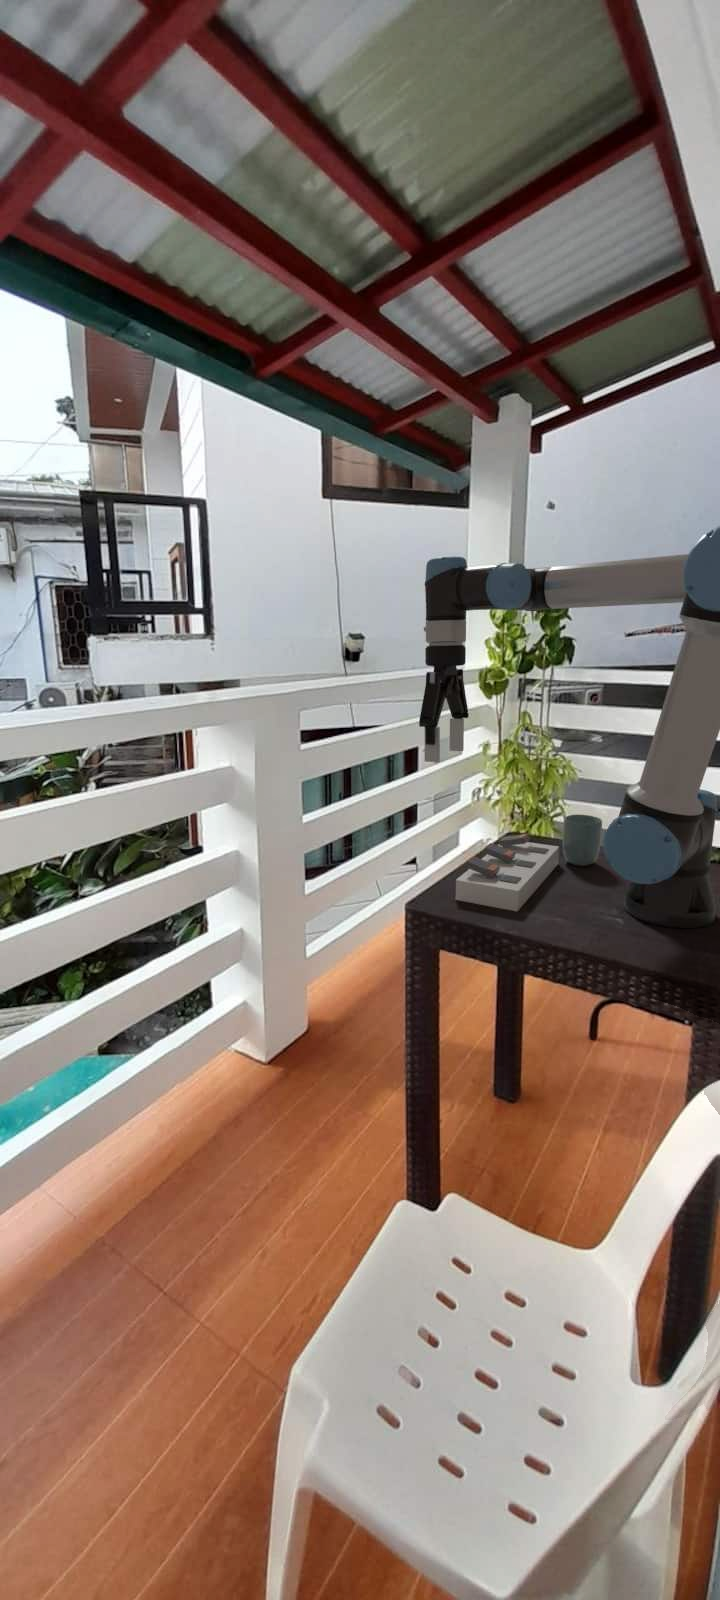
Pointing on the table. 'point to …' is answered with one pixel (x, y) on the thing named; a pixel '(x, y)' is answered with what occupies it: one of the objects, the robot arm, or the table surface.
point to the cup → (581, 839)
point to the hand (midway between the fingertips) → (444, 756)
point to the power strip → (509, 877)
